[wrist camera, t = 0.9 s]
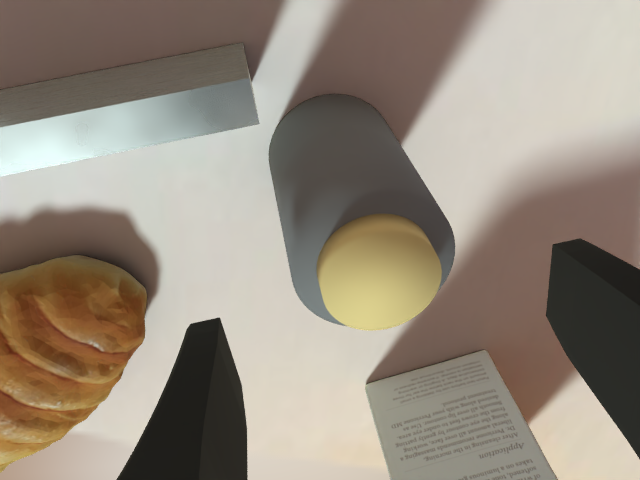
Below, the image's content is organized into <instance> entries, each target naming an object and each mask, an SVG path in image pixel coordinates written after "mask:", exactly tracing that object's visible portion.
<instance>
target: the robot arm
mask: <svg viewBox="0 0 640 480" xmlns="http://www.w3.org/2000/svg"><path fill="white" fill-rule="evenodd" d="M546 317H547V318H548V320H549V322H550V324H551V326H552V328H553V330H554V332H555V334H556V336H557V338H558V340H559V342H560V344H561V345H562V347H563V349H564V351H565V353H566V355H567V356H568V358H569V359H570V361H571V362H572V364H573V365H574V366H575V368H576V369H577V371H578V372H579V373H580V375H581V376H582V378H583V379H584V381H585V382H586V383H587V385H588V386H589V388H590V389H591V390H592V392H593V393H594V395H595V396H596V397H597V399H598V400H599V402H600V403H601V404H602V406H603V407H604V408H605V410H606V411H607V413H608V414H609V415H610V417H611V418H612V420H613V421H614V422H615V424H616V425H617V427H618V428H619V429H620V431H621V432H622V433H623V435H624V436H625V438H626V439H627V440H628V442H629V444H630V445H631V447H632V448H633V450H634V451H635V453H636V454H637V456H638V457H639V459H640V270H639V269H637V268H636V267H634V266H632V265H630V264H628V263H626V262H624V261H623V260H621V259H619V258H617V257H615V256H613V255H611V254H610V253H608V252H606V251H604V250H602V249H600V248H598V247H596V246H594V245H592V244H591V243H589V242H586V241H584V240H582V239H576V240H571V241H567V242H562V243H557V244H553V248H552V258H551V269H550V279H549V290H548V301H547V311H546ZM117 480H247V426H246V417H245V408H244V401H243V393H242V385H241V381H240V378H239V375H238V372H237V369H236V366H235V363H234V360H233V357H232V354H231V351H230V348H229V344H228V341H227V338H226V335H225V332H224V329H223V326H222V323H221V320H220V318H215V319H211V320H206V321H202V322H197V323H193V324H190V326H189V327H188V328H187V330H186V334H185V337H184V340H183V343H182V345H181V348H180V351H179V354H178V356H177V359H176V362H175V364H174V367H173V369H172V372H171V374H170V377H169V379H168V381H167V383H166V386H165V388H164V390H163V392H162V395H161V397H160V399H159V401H158V404H157V406H156V408H155V410H154V412H153V414H152V416H151V418H150V420H149V422H148V424H147V426H146V428H145V430H144V432H143V434H142V436H141V438H140V440H139V442H138V444H137V445H136V447H135V449H134V451H133V453H132V455H131V456H130V458H129V460H128V461H127V463H126V465H125V467H124V468H123V470H122V472H121V473H120V475H119V476H118V478H117Z"/></svg>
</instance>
